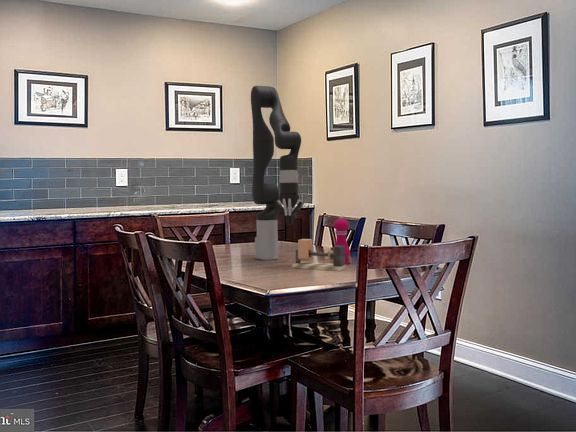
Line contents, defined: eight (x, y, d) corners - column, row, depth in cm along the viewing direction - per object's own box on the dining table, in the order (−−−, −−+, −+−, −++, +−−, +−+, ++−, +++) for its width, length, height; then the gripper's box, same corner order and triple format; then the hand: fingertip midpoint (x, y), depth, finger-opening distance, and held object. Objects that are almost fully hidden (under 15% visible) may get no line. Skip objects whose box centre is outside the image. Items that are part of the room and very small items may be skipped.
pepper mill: (349, 264, 230) (349, 215, 229) (331, 264, 232) (331, 215, 230) (351, 262, 237) (350, 214, 236) (333, 261, 239) (333, 214, 237)
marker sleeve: (298, 259, 224) (297, 240, 223) (303, 258, 228) (303, 238, 228) (307, 260, 222) (307, 240, 222) (312, 258, 226) (312, 239, 226)
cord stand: (292, 267, 224) (292, 245, 223) (300, 265, 230) (300, 243, 230) (339, 271, 215) (339, 247, 214) (346, 268, 221) (346, 245, 220)
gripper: (269, 182, 226) (270, 225, 227) (299, 181, 220) (300, 225, 221) (278, 181, 233) (279, 224, 234) (307, 181, 227) (308, 224, 228)
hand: (289, 224), depth 227 cm, fingers closed
